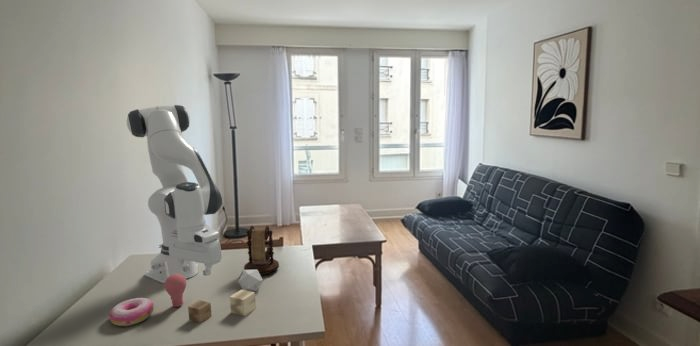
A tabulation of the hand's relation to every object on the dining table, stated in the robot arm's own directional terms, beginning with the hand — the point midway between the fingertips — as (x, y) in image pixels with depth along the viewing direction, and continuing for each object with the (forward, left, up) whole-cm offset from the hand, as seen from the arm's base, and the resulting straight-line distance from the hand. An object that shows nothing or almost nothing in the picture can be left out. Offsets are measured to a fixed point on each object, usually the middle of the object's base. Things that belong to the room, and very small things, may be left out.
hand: (196, 273), depth 133 cm
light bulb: (-14, +3, -16) cm, 22 cm away
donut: (-22, -9, -17) cm, 29 cm away
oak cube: (+10, +10, -16) cm, 22 cm away
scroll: (-6, +41, -16) cm, 45 cm away
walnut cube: (0, 0, -16) cm, 16 cm away
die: (+2, +24, -16) cm, 29 cm away
